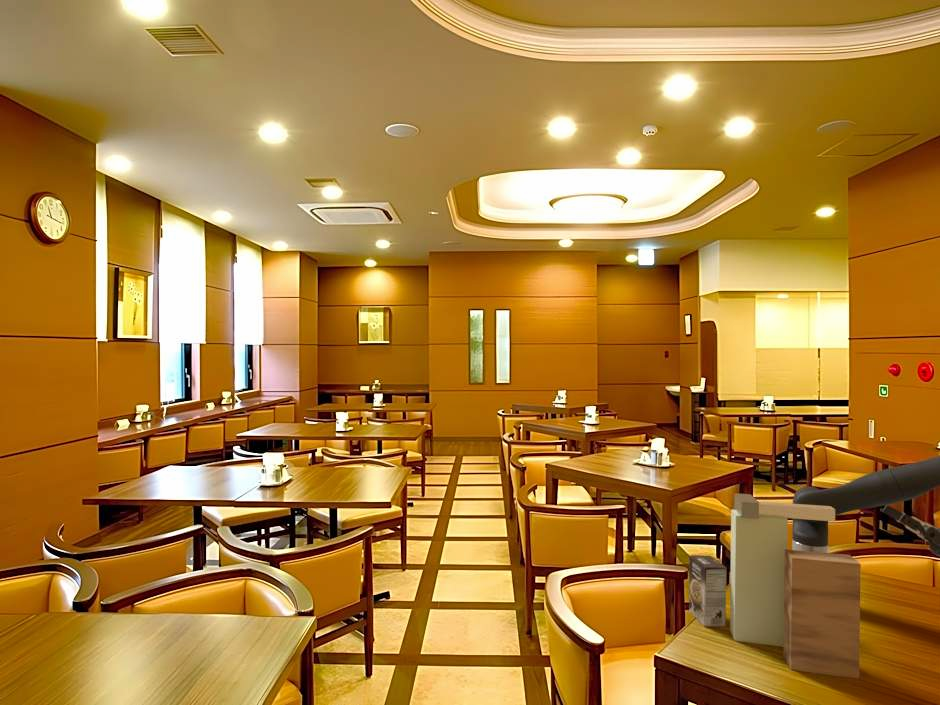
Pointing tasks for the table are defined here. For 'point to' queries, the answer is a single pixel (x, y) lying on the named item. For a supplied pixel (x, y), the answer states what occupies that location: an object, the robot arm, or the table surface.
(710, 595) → the coffee box
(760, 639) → the beige tall block
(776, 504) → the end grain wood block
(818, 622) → the wood grain post
